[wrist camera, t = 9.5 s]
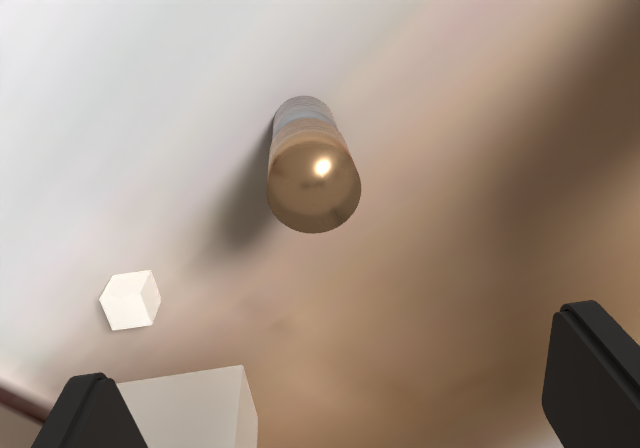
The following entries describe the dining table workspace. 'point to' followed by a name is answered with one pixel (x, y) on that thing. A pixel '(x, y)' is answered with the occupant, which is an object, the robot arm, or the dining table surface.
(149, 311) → the rounded white cube
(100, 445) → the robot arm
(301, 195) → the peg
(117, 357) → the dining table surface
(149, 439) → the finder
